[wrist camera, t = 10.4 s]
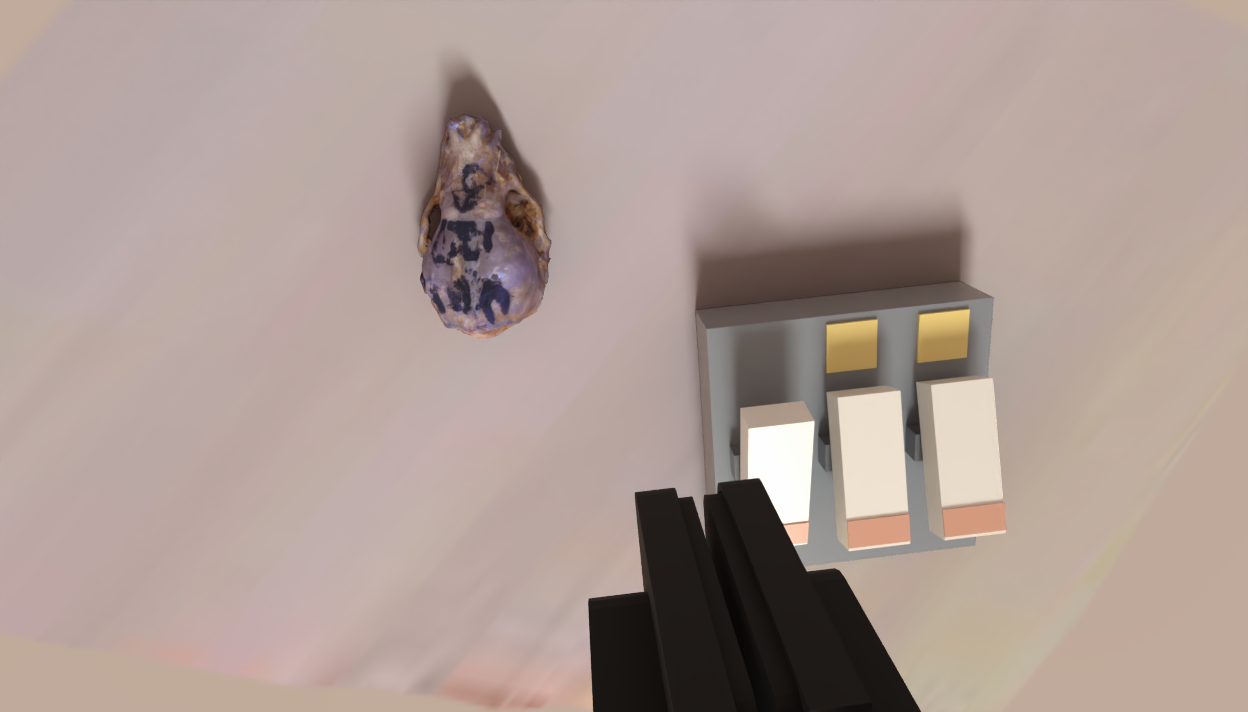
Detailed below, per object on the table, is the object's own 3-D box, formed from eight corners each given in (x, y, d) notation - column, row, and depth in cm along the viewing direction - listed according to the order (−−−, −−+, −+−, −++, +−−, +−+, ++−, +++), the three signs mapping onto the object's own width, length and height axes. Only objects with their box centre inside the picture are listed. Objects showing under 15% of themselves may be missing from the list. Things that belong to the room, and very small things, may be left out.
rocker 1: (740, 407, 43) (748, 429, 41) (803, 400, 43) (815, 422, 41) (740, 528, 47) (747, 552, 46) (797, 521, 48) (807, 545, 46)
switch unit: (695, 310, 48) (710, 336, 43) (960, 281, 49) (1006, 304, 44) (709, 542, 54) (725, 589, 49) (946, 513, 54) (986, 557, 49)
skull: (421, 108, 43) (399, 111, 37) (558, 120, 44) (557, 125, 38) (421, 313, 47) (401, 345, 41) (547, 321, 48) (545, 353, 42)
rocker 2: (826, 392, 45) (838, 397, 43) (886, 385, 45) (901, 390, 43) (837, 539, 46) (849, 551, 44) (896, 532, 46) (910, 544, 44)
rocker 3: (916, 382, 45) (931, 385, 43) (975, 375, 46) (993, 378, 43) (929, 530, 46) (945, 541, 44) (987, 523, 46) (1006, 533, 44)
